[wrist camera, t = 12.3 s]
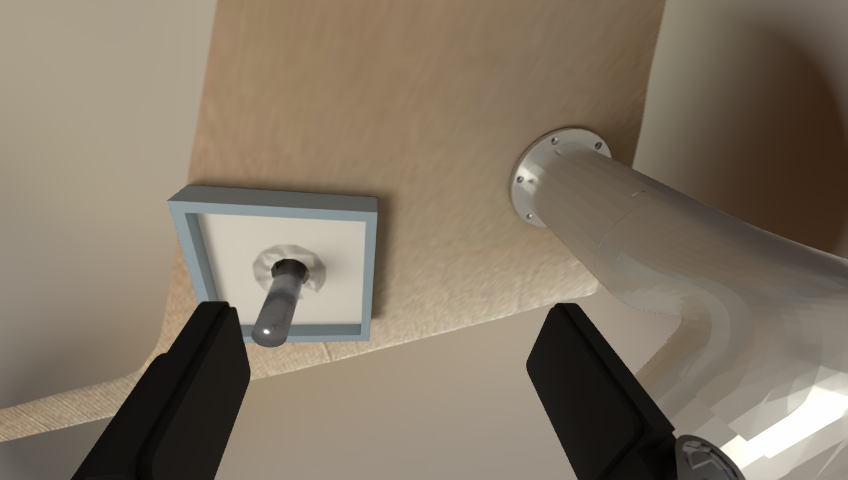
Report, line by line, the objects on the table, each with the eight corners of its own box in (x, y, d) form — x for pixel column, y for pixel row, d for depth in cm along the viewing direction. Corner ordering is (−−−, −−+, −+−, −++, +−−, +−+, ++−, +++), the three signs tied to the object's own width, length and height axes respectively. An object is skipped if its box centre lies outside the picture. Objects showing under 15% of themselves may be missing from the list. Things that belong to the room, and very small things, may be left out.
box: (377, 197, 38) (377, 212, 34) (369, 320, 48) (369, 341, 44) (187, 184, 34) (167, 200, 31) (222, 320, 44) (210, 343, 41)
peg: (307, 253, 40) (285, 324, 30) (308, 273, 42) (288, 347, 32) (280, 252, 40) (248, 324, 30) (282, 272, 41) (253, 347, 31)
